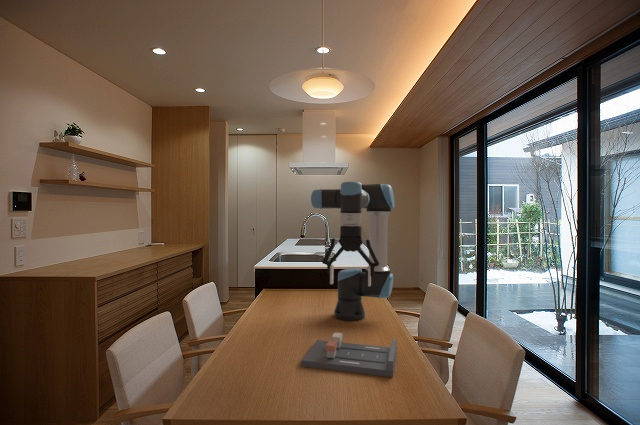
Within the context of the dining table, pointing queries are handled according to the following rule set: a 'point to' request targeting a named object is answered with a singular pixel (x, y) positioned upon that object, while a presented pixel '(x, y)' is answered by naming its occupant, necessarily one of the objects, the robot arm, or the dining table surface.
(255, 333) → the dining table surface
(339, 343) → the fader
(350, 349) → the console
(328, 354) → the fader
